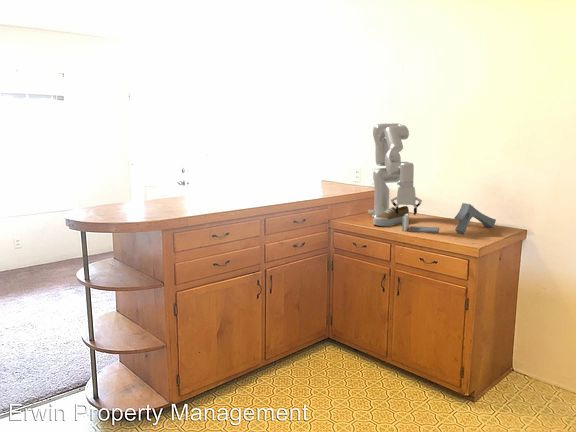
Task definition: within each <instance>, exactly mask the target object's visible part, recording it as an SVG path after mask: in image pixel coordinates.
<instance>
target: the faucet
mask: <svg viewBox="0 0 576 432" xmlns="http://www.w3.org/2000/svg"><path fill="white" fill-rule="evenodd" d="M472 218H474V219H476V220H477V221H479V222H480V224H482V225H483V227H486V228H489V229H490V228H491V229H494V227H495V225H496V222H497V221H496V220H497V218H492V217H490V216H488V215H486V214H484V213H482V212H481V211H479V210H478V209H476V208H475V207H474V205H472V204H470V203H466V202H465V203H464V202H462V204H461V206H460V209H459V211H458V213H457V214H456V215H455V217H454V218H453V219H454V220H457V221H459V222H458V224H457V225H456V227H455V229H454V230H455V231H456V233H457V234H461V235H462V234H463V235H465V234H466V232H467V227H468V225H469V223H470V221H471V219H472Z"/></svg>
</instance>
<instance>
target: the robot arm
mask: <svg viewBox="0 0 576 432" xmlns="http://www.w3.org/2000/svg"><path fill="white" fill-rule="evenodd" d="M409 136H410V131H409V128H408V127H407V126H406V125H405V124H403V123H393V122H392V123H378V124H375V125H374V126H373V128H372V137H373V141H374V144H375V145H374V146H375V152H374V153H375V154H374V155H375V164H376V165H377V166H380V168H379V167H378V168H376V169H375V170H373V173H372V174H373V176H372V177H373V183H374V184H373V185H374V188H373V189H374V197H373V199H374V200H373V201H374V202H373V203H374V205H373V207H374V208H373V209H367V213H369V214H371V217H372V218H374V217H376V216H378V215H381V214H382V213H384V212H385V211H386V210H387V209H389V208H390V202H391V204H392V205H393V207H394V208H395V209H396V213H397V214H399V208H400V207H399V206H413V215H414V216H416V214H417V213H418V207H420V205H421V203H422V202H423V200H422V199H420V198H418V197H417V196H416V188H415V186H414V179H415V178H414V173H415V172H414V171H415V170H414V169H415V167H414V164H413V162H409V161H402V160H401V159H402V157H401V151H403V149H404V145H403V140H407V139H408V138H409ZM390 183H391V184H392V183H396V185H397V186H398V187H397V192H396V194H397V195H396V197H393V198H392V199H390V188H389V186H388V185H387V184H390ZM395 201H396V202H395ZM416 201H417V202H418V203H417V204H416Z"/></svg>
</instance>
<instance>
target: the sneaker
mask: <svg viewBox="0 0 576 432" xmlns="http://www.w3.org/2000/svg"><path fill="white" fill-rule="evenodd" d="M405 214H409V215H410V211H409V206H408V205H402V206H400V207H399V214H397V213H396V207H395V206H391V207H389V209H387V210H386V211H385V212H384V213H382V214H381V215H378V216H376V217H373V218H372V219H373V220H372V222H373V225H374V226H378V227H391V226H394V225H398V224H402V218H403V216H404V215H405Z"/></svg>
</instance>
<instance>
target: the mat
mask: <svg viewBox="0 0 576 432" xmlns="http://www.w3.org/2000/svg"><path fill="white" fill-rule="evenodd" d="M438 231H439V227H437V226H422V225H421V226H418V225H417V226H416V225H410V226H409V227H408V228H407V232H413V233H414V232H415V233H429V234H430V233H433V234H437V233H438Z"/></svg>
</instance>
